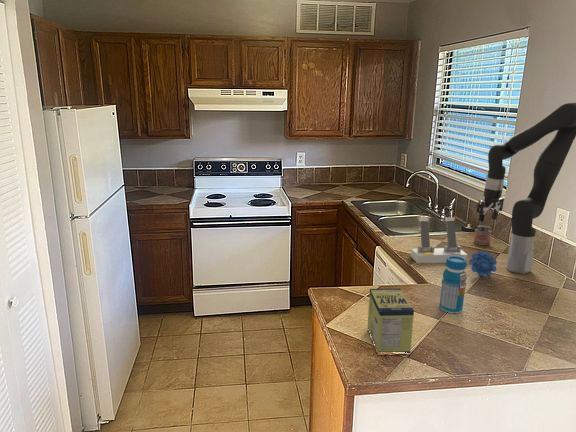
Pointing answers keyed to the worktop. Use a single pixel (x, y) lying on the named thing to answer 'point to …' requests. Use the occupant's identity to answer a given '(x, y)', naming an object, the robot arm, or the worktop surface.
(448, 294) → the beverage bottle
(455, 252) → the console
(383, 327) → the protein box
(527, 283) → the worktop surface
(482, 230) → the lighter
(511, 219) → the robot arm
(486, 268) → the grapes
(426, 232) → the lever amber
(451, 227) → the lever grey
